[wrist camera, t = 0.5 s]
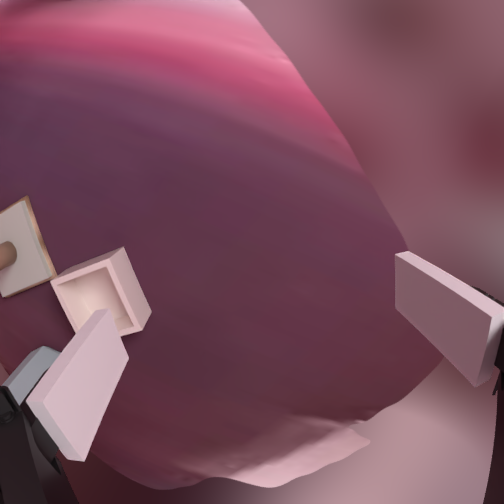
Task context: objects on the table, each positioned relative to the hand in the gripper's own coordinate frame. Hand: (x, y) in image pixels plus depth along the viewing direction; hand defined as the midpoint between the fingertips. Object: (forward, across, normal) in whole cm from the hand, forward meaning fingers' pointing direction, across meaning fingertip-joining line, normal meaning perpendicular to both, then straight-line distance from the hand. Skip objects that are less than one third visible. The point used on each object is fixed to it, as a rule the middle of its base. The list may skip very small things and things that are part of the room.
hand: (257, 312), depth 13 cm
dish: (+28, -20, -7) cm, 35 cm away
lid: (+27, -36, +2) cm, 45 cm away
